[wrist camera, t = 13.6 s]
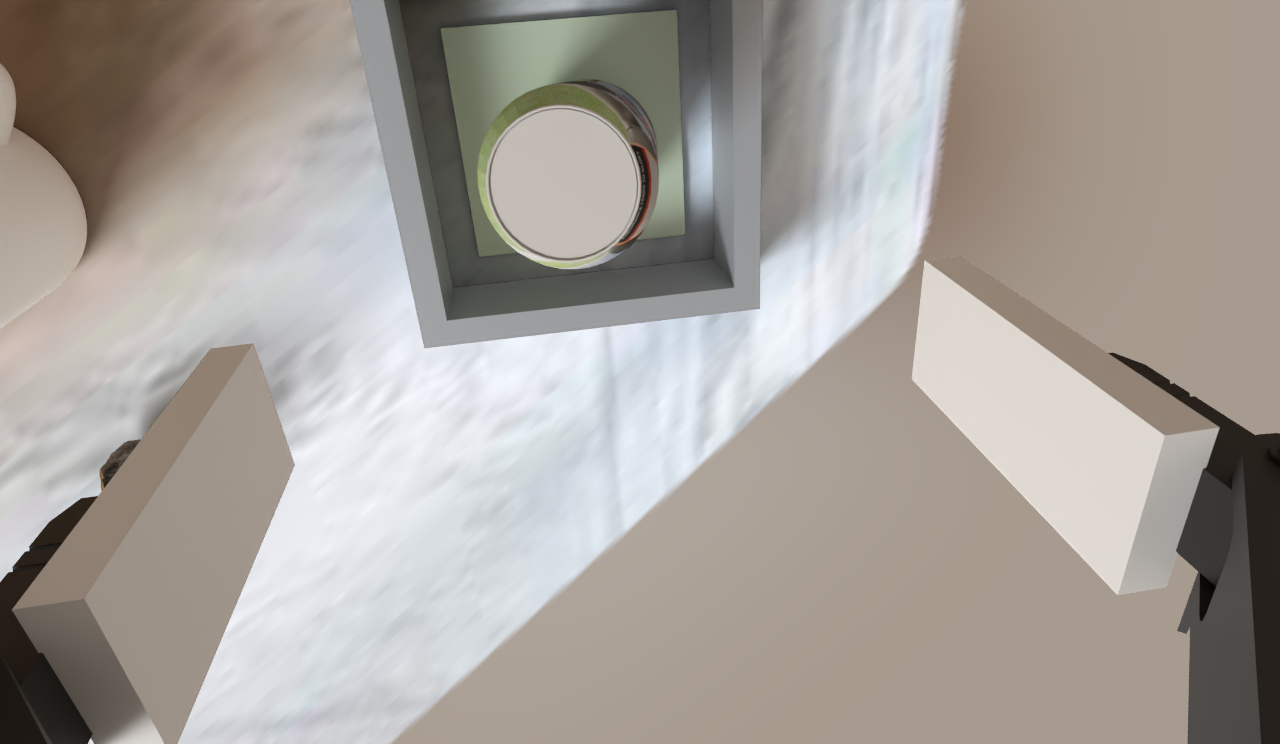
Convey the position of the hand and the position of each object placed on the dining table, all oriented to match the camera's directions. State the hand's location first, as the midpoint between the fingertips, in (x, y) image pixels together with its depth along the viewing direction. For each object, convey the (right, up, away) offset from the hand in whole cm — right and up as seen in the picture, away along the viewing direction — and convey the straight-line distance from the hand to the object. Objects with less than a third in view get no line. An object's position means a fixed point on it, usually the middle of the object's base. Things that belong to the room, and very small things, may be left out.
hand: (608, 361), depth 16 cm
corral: (-2, +10, +20) cm, 23 cm away
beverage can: (-2, +10, +20) cm, 23 cm away
